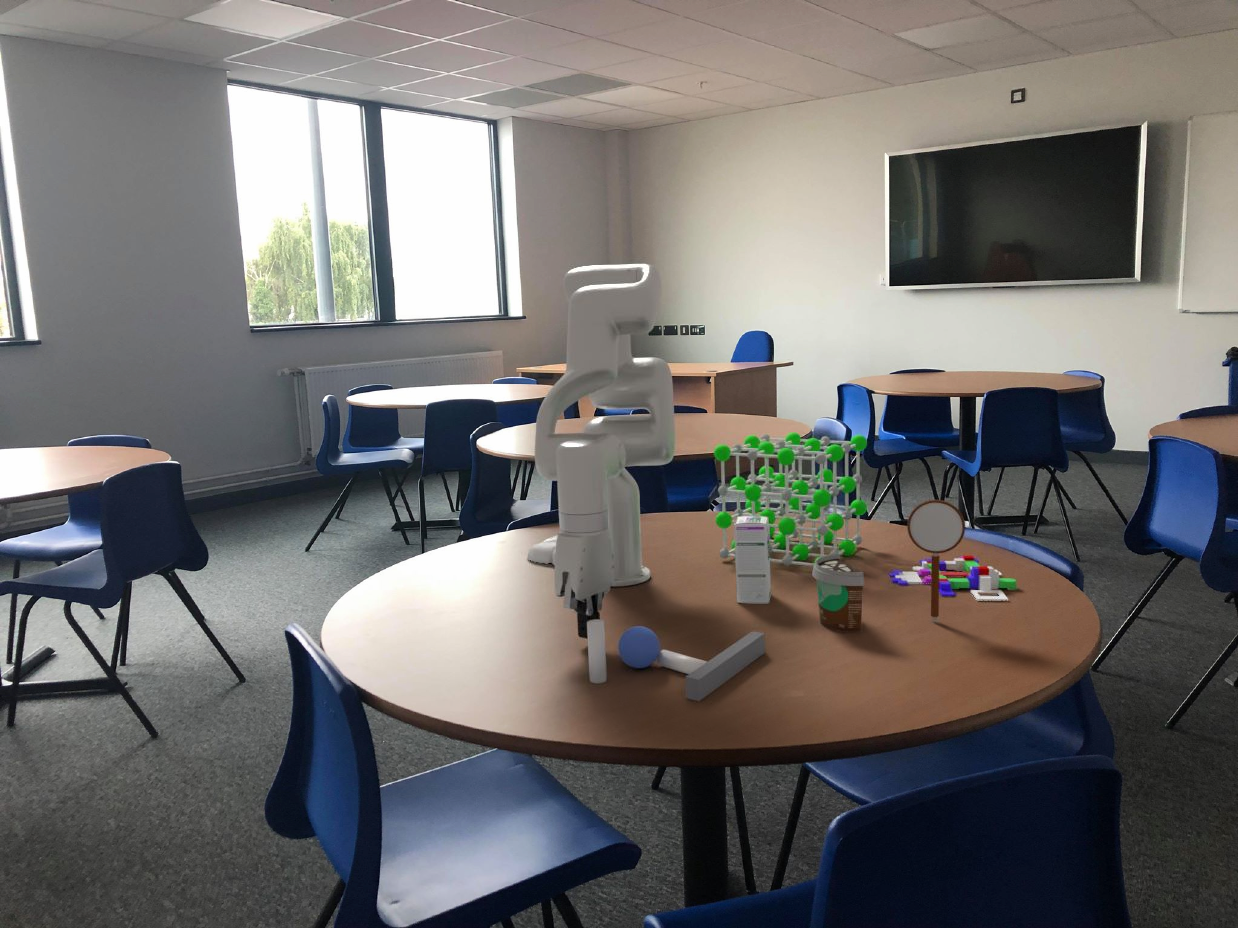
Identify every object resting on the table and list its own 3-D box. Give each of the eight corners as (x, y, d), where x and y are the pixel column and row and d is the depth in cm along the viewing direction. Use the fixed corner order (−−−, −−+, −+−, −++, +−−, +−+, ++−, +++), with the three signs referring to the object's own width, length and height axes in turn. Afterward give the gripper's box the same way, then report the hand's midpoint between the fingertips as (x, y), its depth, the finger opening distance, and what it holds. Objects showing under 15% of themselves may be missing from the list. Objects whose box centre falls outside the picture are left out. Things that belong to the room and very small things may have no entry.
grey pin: (586, 681, 131) (583, 623, 129) (596, 675, 133) (593, 618, 131) (600, 684, 130) (597, 625, 128) (609, 678, 131) (607, 620, 130)
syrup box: (769, 604, 162) (768, 522, 159) (735, 603, 163) (733, 522, 160) (771, 594, 167) (769, 515, 165) (737, 593, 168) (736, 515, 166)
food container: (803, 612, 156) (802, 555, 155) (839, 610, 157) (839, 552, 155) (825, 637, 144) (825, 575, 143) (864, 635, 145) (864, 572, 143)
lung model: (517, 561, 197) (594, 546, 217) (578, 574, 186) (653, 558, 206) (518, 530, 197) (595, 518, 216) (579, 542, 186) (654, 528, 205)
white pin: (656, 665, 135) (702, 679, 129) (659, 649, 135) (705, 662, 129) (666, 666, 136) (712, 679, 131) (669, 649, 136) (715, 662, 131)
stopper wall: (686, 698, 124) (685, 676, 123) (752, 650, 140) (752, 631, 140) (699, 701, 123) (698, 679, 122) (764, 652, 139) (764, 633, 138)
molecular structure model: (869, 546, 197) (869, 433, 194) (828, 576, 177) (827, 450, 173) (763, 535, 210) (761, 429, 206) (713, 562, 190) (710, 445, 186)
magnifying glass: (963, 622, 149) (965, 499, 145) (963, 625, 147) (965, 501, 144) (906, 618, 151) (907, 498, 148) (906, 621, 150) (907, 500, 147)
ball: (647, 682, 133) (623, 668, 138) (674, 651, 135) (649, 639, 140) (627, 654, 130) (603, 642, 135) (655, 624, 132) (631, 612, 137)
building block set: (883, 565, 185) (883, 543, 184) (991, 565, 182) (992, 543, 181) (901, 604, 161) (901, 579, 160) (1026, 605, 157) (1027, 580, 157)
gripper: (592, 509, 150) (597, 619, 153) (533, 529, 138) (540, 648, 140) (631, 514, 146) (635, 626, 148) (574, 534, 133) (580, 656, 136)
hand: (589, 636), depth 144 cm, fingers closed
